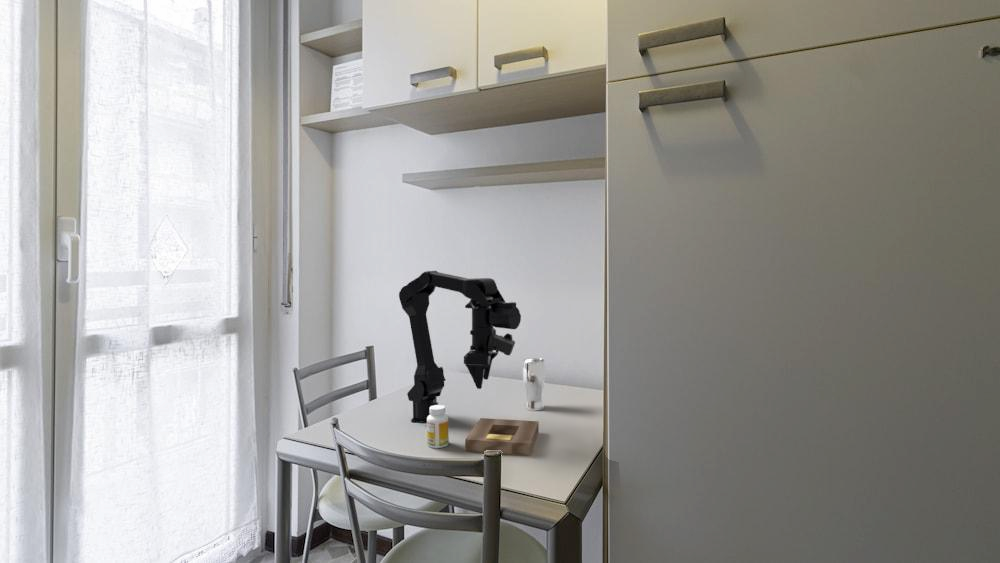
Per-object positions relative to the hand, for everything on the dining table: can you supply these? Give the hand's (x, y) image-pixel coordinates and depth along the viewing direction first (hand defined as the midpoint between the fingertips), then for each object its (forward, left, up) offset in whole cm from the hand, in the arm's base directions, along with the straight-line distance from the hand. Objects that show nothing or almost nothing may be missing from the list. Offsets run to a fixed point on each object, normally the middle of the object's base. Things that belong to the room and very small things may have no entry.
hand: (482, 383), depth 134 cm
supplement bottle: (-10, -10, -14) cm, 19 cm away
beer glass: (+10, +24, -14) cm, 30 cm away
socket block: (+6, -5, -14) cm, 16 cm away
